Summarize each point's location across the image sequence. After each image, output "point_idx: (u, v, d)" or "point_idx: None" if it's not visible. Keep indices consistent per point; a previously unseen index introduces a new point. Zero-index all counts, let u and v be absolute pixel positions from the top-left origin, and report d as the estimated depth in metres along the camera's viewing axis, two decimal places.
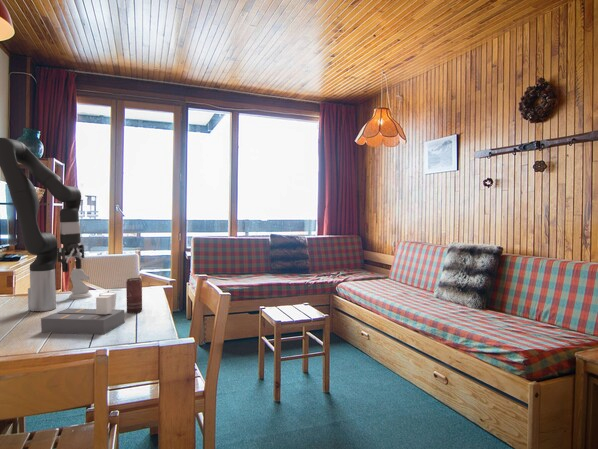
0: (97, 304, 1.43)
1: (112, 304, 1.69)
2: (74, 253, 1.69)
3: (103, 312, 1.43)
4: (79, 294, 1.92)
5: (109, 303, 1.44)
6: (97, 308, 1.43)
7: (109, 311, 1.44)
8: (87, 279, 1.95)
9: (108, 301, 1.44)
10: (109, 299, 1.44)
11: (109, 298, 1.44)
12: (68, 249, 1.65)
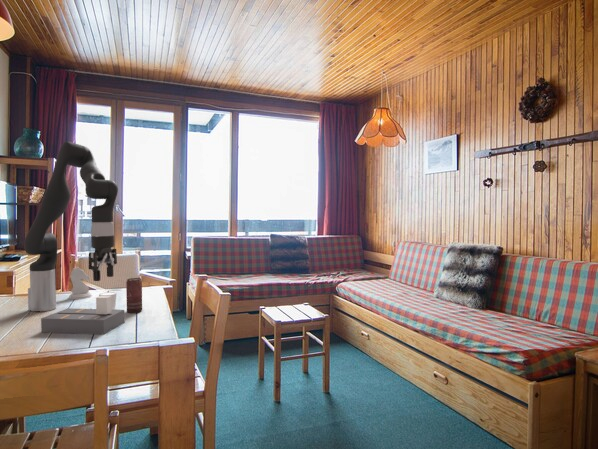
0: (97, 304, 1.43)
1: (112, 304, 1.69)
2: (106, 259, 1.44)
3: (103, 312, 1.43)
4: (79, 294, 1.92)
5: (109, 303, 1.44)
6: (97, 308, 1.43)
7: (109, 311, 1.44)
8: (87, 279, 1.95)
9: (108, 301, 1.44)
10: (109, 299, 1.44)
11: (109, 298, 1.44)
12: (100, 254, 1.40)
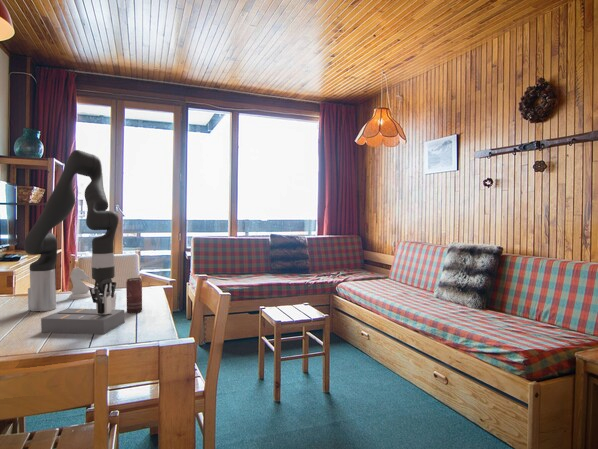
0: None
1: (112, 304, 1.69)
2: (107, 289, 1.44)
3: None
4: (79, 294, 1.92)
5: (109, 303, 1.44)
6: (97, 308, 1.43)
7: (109, 311, 1.44)
8: (87, 279, 1.95)
9: (108, 301, 1.44)
10: (109, 299, 1.44)
11: (109, 298, 1.44)
12: (101, 288, 1.40)
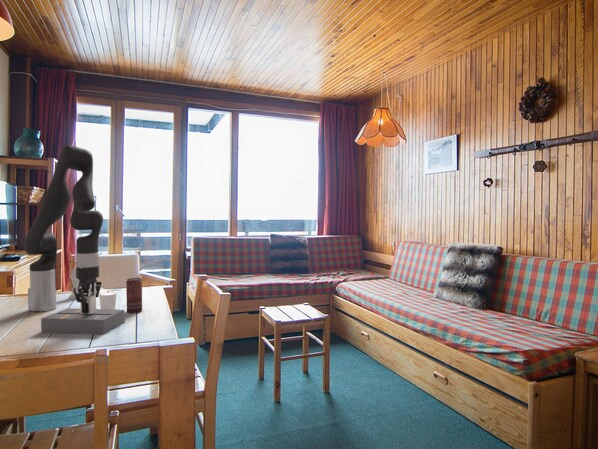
0: (81, 304, 1.43)
1: (112, 304, 1.69)
2: (91, 289, 1.45)
3: None
4: None
5: (93, 303, 1.44)
6: (81, 307, 1.43)
7: (93, 311, 1.45)
8: None
9: (93, 301, 1.44)
10: (93, 299, 1.44)
11: (93, 298, 1.44)
12: (85, 288, 1.41)
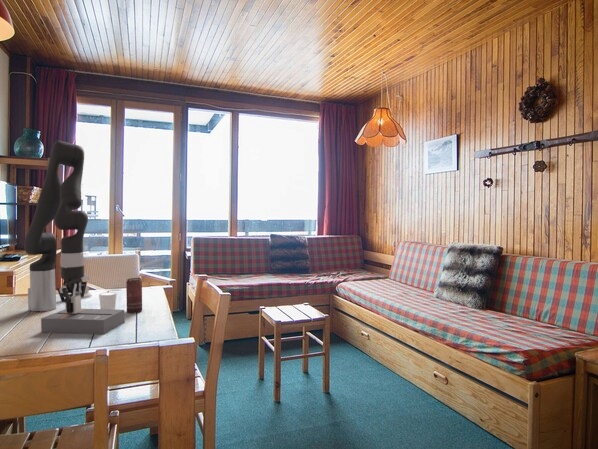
0: None
1: (112, 304, 1.69)
2: (76, 289, 1.45)
3: None
4: None
5: (78, 302, 1.45)
6: None
7: (78, 310, 1.45)
8: (87, 279, 1.95)
9: (78, 301, 1.45)
10: (78, 298, 1.45)
11: (78, 298, 1.45)
12: (69, 287, 1.41)
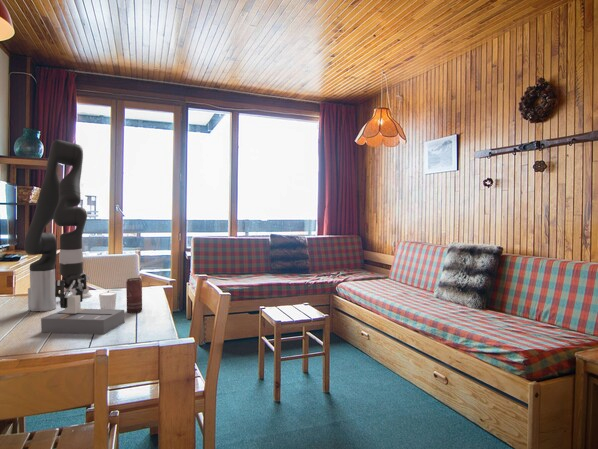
0: None
1: (112, 304, 1.69)
2: (75, 285, 1.45)
3: (71, 311, 1.43)
4: None
5: (78, 302, 1.45)
6: None
7: (78, 310, 1.45)
8: (87, 279, 1.95)
9: (77, 301, 1.45)
10: (78, 298, 1.45)
11: (78, 298, 1.45)
12: (68, 281, 1.41)
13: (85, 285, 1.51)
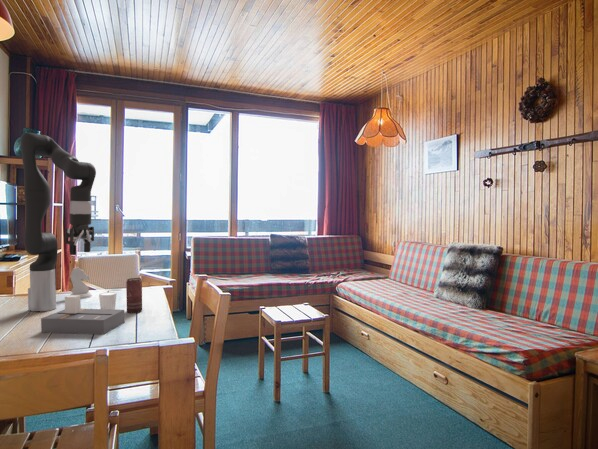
0: (66, 303, 1.43)
1: (112, 304, 1.69)
2: (83, 235, 1.56)
3: (71, 311, 1.43)
4: (79, 294, 1.92)
5: (78, 302, 1.45)
6: (65, 307, 1.44)
7: (78, 310, 1.45)
8: (87, 279, 1.95)
9: (77, 301, 1.45)
10: (78, 298, 1.45)
11: (78, 298, 1.45)
12: (77, 230, 1.52)
13: (93, 237, 1.62)
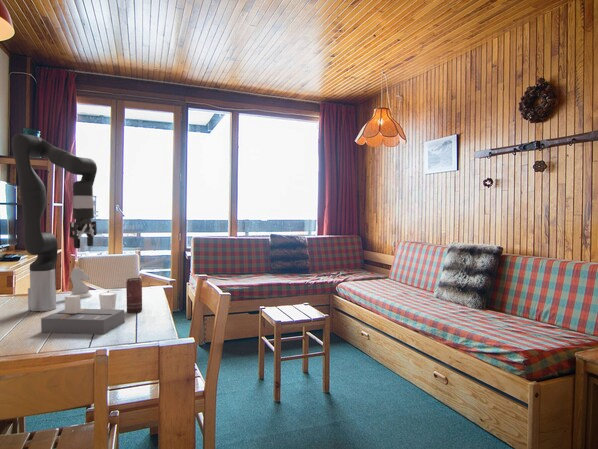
0: (66, 303, 1.43)
1: (112, 304, 1.69)
2: (86, 229, 1.59)
3: (71, 311, 1.43)
4: (79, 294, 1.92)
5: (78, 302, 1.45)
6: (65, 307, 1.44)
7: (78, 310, 1.45)
8: (87, 279, 1.95)
9: (77, 301, 1.45)
10: (78, 298, 1.45)
11: (78, 298, 1.45)
12: (81, 224, 1.56)
13: (95, 231, 1.65)
